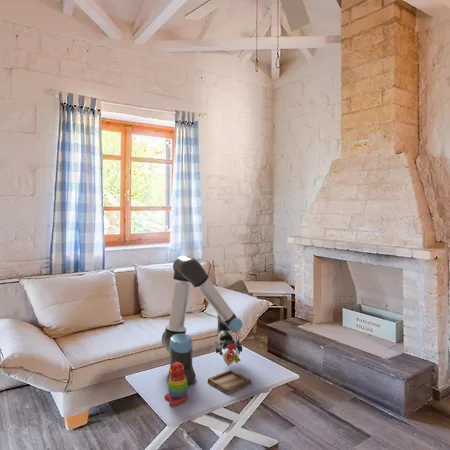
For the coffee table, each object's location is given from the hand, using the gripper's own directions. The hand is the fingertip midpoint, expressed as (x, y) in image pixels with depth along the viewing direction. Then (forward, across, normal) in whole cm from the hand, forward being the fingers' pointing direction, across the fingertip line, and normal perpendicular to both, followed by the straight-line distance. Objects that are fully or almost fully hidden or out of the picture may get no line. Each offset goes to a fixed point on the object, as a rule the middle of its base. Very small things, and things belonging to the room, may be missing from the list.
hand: (230, 355), depth 183 cm
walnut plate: (-5, 0, -17) cm, 17 cm away
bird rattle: (-5, -1, -7) cm, 8 cm away
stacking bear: (+8, +27, -17) cm, 33 cm away
